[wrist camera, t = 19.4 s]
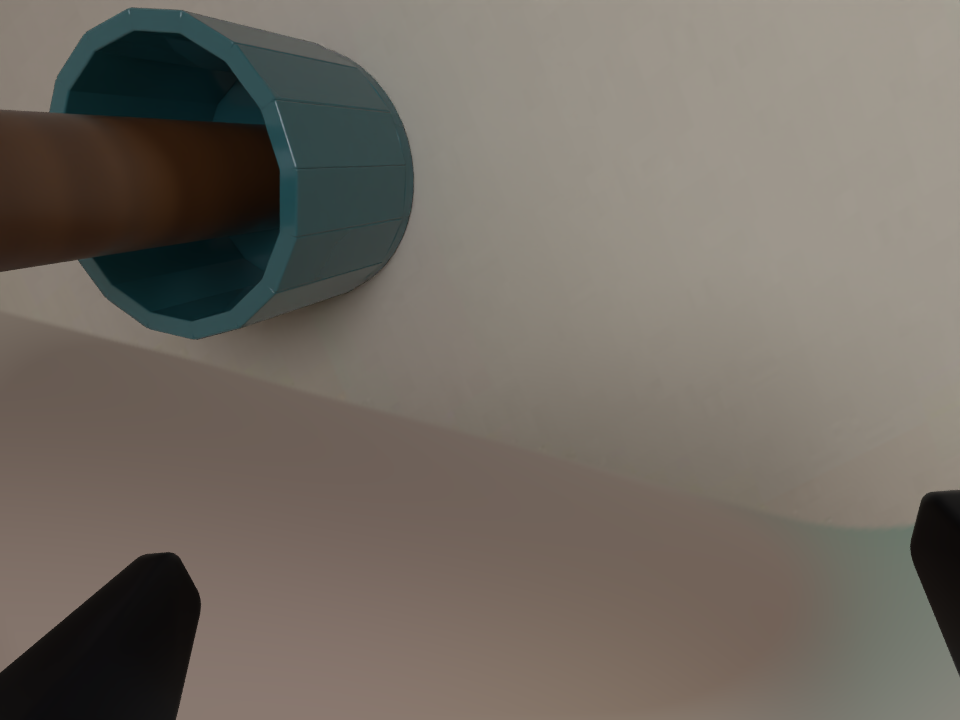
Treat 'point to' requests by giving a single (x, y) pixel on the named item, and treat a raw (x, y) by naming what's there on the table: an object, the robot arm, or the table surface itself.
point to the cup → (297, 147)
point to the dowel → (128, 184)
